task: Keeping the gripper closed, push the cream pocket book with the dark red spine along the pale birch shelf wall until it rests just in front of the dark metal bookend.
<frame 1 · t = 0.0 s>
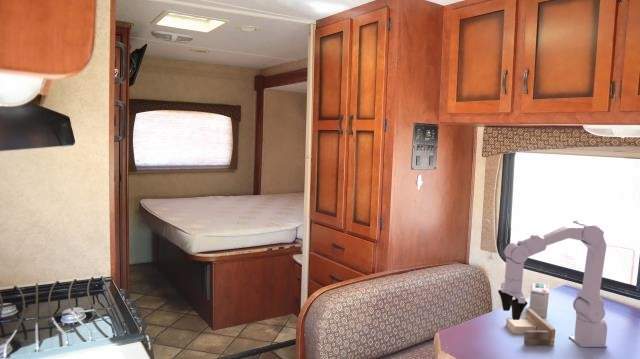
hand: (510, 314, 163), 10 cm above the table, tool pointing down, fingers open, 7 cm apart
light bulb box: (537, 312, 191), on the table
shelf: (525, 334, 170), on the table
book: (520, 329, 174), on the table
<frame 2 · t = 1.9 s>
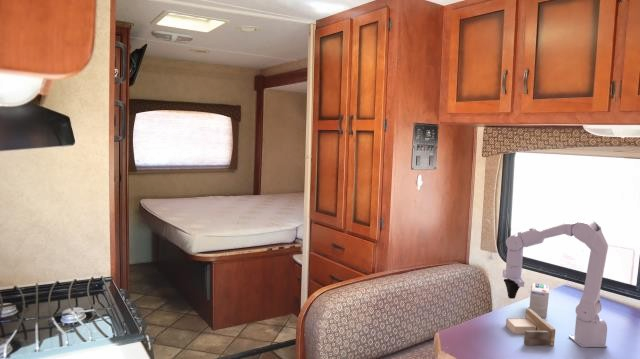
hand: (511, 297, 182), 9 cm above the table, tool pointing down, fingers closed
nothing on the table moved.
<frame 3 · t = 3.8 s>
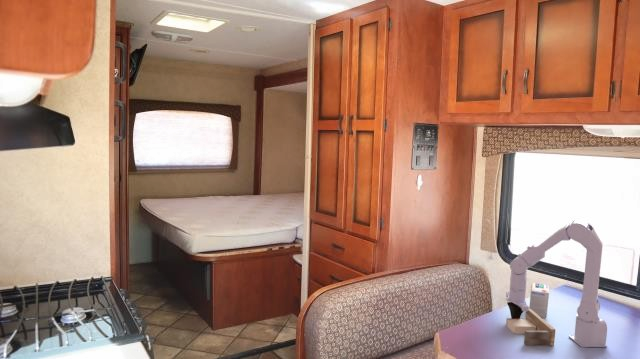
hand: (515, 321, 179), 1 cm above the table, tool pointing down, fingers closed
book: (520, 329, 174), on the table, touching gripper
everything else where it was.
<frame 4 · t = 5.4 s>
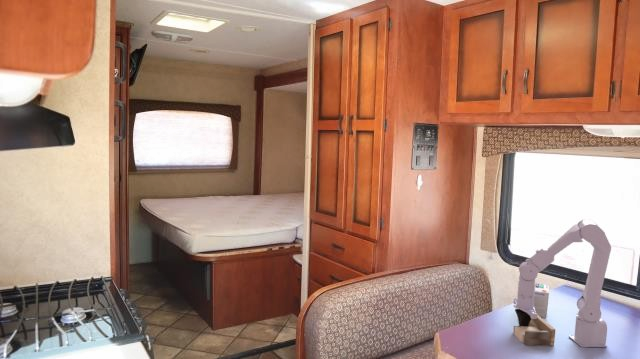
hand: (523, 329, 172), 1 cm above the table, tool pointing down, fingers closed
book: (528, 338, 168), on the table
everything else where it was.
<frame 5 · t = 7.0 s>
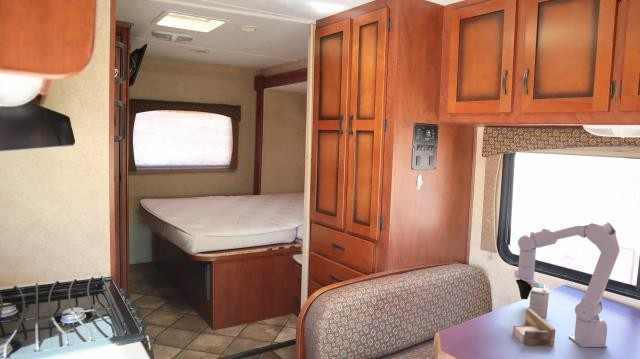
hand: (524, 298, 180), 9 cm above the table, tool pointing down, fingers closed
nothing on the table moved.
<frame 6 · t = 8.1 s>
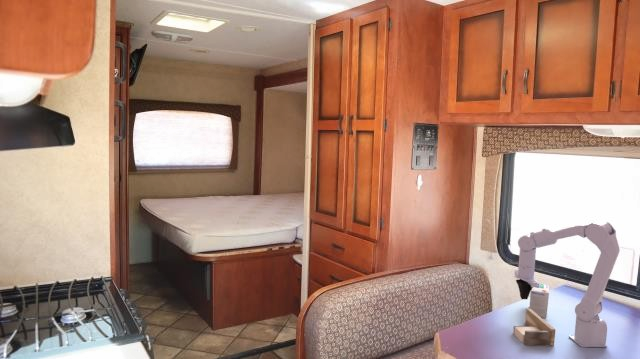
hand: (524, 298, 180), 9 cm above the table, tool pointing down, fingers closed
nothing on the table moved.
at the end: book 0.4 cm from the target spot on the shelf, point 0.0 cm above the shelf's base; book tilted 0°; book moved 6.7 cm from its start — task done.
